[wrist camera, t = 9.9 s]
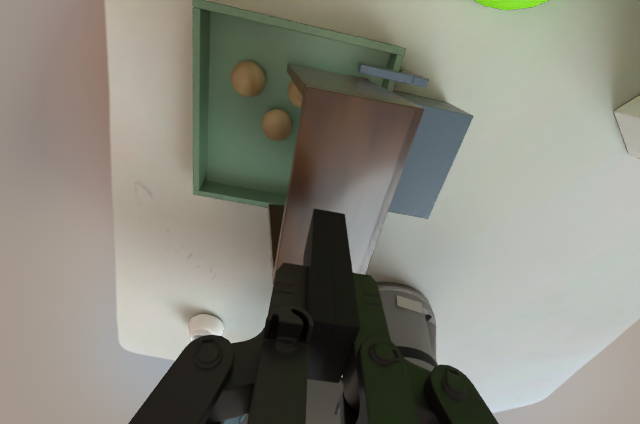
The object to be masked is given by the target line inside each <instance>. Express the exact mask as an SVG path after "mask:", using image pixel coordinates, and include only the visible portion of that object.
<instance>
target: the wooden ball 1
mask: <svg viewBox="0 0 640 424" xmlns="http://www.w3.org/2000/svg"><path fill="white" fill-rule="evenodd" d="M231 83H232V86H233V88H234V89H235V91H236V92H237V93H239V94H240V95H242V96H244V97H255V96H257V95H259V94H260V93H261V92H262V90H263V89H264V86H265V75H264V72H263V71H262V69H261V68H260V67H259V66H258V65H257V64H256V63H254V62H252V61H241V62H239V63H237V64H236V65H235V66H234V67H233V69H232V72H231Z"/></svg>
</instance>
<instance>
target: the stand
mask: <svg viewBox="0 0 640 424" xmlns="http://www.w3.org/2000/svg"><path fill="white" fill-rule="evenodd" d="M357 71H358V72H359V73H362V74H367V75H371V76H376V77H380V78H385V79H389V80H394V81H398V82H402V83H407V84H412V85H416V86H420V87H425V88H426V87H427V84H428V81H429V80H428V79H426V78H424V77H421V76H419V75H416V74H413V73H411V72H408V71H405V70H399V72H398V71H394V70H389V69H385V68H381V67H376V66H372V65H368V64H363V63H359V64H358V68H357ZM393 93H394V94H396V95H398V96H400V97H402V98H404V99H406V100H408V101H410V102H412V103H414V104H416V105H418V106H420V107H422V108H424V112H423V115H422V118H421V121H420V124H419V126H418V129H417V132H416V135H415V137H414V140H413V143H412V146H411V149H410V151H409V154H408V157H407V160H406V162H405V165H404V168H403V171H402V173H401V176H400V179H399V182H398V185H397V187H396V190H395V193H394V196H393V198H392V201H391V204H390V207H389V209H388V212H393V213H399V214H404V215H410V216H415V217H421V218H426V219H428V218H429V215H430V213H431V211H432V209H433V206H434V204H435V202H436V199H437V197H438V195H439V193H440V190H441V188H442V186H443V184H444V181H445V179H446V177H447V175H448V172H449V170H450V168H451V166H452V163H453V161H454V159H455V157H456V154H457V152H458V150H459V148H460V145H461V143H462V141H463V138H464V136H465V134H466V132H467V129H468V127H469V125H470V123H471V120H472V118H473V116H472V115H470V114H468V113H466V112H465V111H463V110H461V109H459V108H457V107H455V106H453V105H451V104H449V103H447V102H442V101H438V100H433V99H429V98H424V97H420V96H415V95H411V94H406V93H402V92H397V91H393Z"/></svg>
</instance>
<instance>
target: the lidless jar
mask: <svg viewBox="0 0 640 424" xmlns="http://www.w3.org/2000/svg"><path fill="white" fill-rule="evenodd" d="M223 331H224V325H223V323H222V322H221V320H219V319H218V318H216V317H214V316H211V315H208V314H200V315H196V316H194V317H193V318H191V320H190V323H189V333H190V340H191V342H192V341H193V340H195V339H197V338H199V337H201V336H206V335H218V336H221V335H222V333H223Z"/></svg>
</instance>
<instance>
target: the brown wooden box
mask: <svg viewBox="0 0 640 424" xmlns="http://www.w3.org/2000/svg"><path fill="white" fill-rule="evenodd" d="M287 73H288V74H289V76H290V78H291V79H292V81H293V82H294V84H295V86H296V87H297V89H298V90H299V92H300V93H301V95H302V97H303V99H302V105H301V111H300V117H299V123H298V129H297V135H296V141H295V147H294V153H293V159H292V165H291V171H290V177H289V183H288V189H287V195H286V201H285V205H276V204H269V205H268V218H269V232H270V247H271V262H272V277H273V285H274V281H275V276H276V271H277V269H278V268H279V267H280V266H281V265H282V264H283V262H284V263H291V264H297V265H303V257H304V251H305V246H306V242H307V237H308V232H309V228H310V223H311V219H312V214H313V210H314V209H320V210H326V211H331V212H337V213H342V214H345V219H346V226H347V234H348V241H349V248H350V256H351V263H352V270H353V273H358V274H364V275H365V273H366V270H367V268H368V265H369V262H370V259H371V257H372V254H373V251H374V248H375V245H376V243H377V240H378V237H379V234H380V232H381V229H382V226H383V223H384V221H385V218H386V215H387V212H388V209H389V207H390V204H391V201H392V198H393V196H394V193H395V190H396V187H397V185H398V182H399V179H400V176H401V173H402V171H403V168H404V165H405V162H406V160H407V157H408V154H409V151H410V149H411V146H412V143H413V140H414V137H415V135H416V132H417V129H418V126H419V124H420V121H421V118H422V115H423V112H424V108H422V107H420V106H418V105H416V104H414V103H412V102H410V101H408V100H406V99H404V98H402V97H400V96H398V95H396V94H394V93H393V92H391V91H389V90H387V89H385V88H383V87H381V86H379V85H377V84H375V83H373V82H371V81H369V79H368V78H365V77H358V76H353V75H350V76H349V75H344V74H339V73H334V72H330V71H325V70H320V69H315V68H310V67H305V66H300V65H296V64H291V63H288V64H287Z"/></svg>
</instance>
